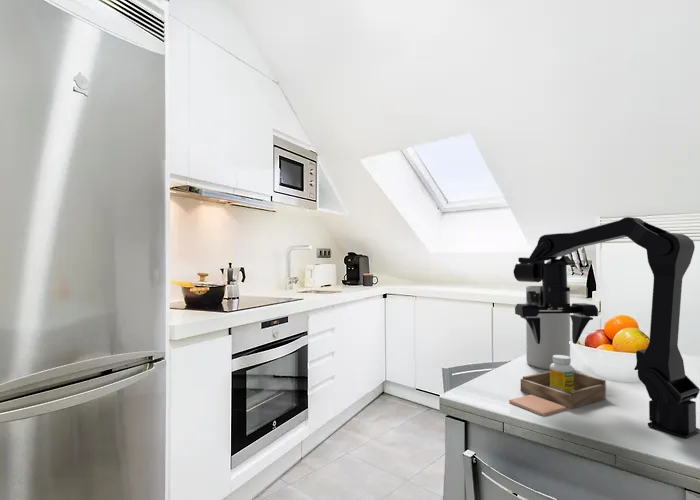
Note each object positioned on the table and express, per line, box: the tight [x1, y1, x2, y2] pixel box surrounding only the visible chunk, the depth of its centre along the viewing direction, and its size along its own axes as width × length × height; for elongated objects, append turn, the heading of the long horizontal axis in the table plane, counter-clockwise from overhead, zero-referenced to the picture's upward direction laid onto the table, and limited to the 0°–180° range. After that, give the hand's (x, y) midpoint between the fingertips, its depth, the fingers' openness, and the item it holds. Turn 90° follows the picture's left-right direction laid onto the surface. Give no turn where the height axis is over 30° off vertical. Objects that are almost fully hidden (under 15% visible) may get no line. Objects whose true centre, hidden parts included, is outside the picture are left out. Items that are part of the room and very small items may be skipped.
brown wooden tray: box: [520, 370, 607, 410], centre depth 99 cm, size 14×14×4 cm
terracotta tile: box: [508, 394, 567, 417], centre depth 91 cm, size 9×8×1 cm
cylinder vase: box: [525, 285, 571, 371], centre depth 126 cm, size 12×12×25 cm
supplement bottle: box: [549, 355, 575, 394], centre depth 99 cm, size 5×5×10 cm
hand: (556, 343), depth 101 cm, fingers open, 9 cm apart
